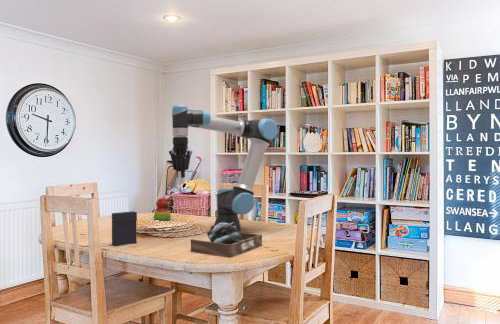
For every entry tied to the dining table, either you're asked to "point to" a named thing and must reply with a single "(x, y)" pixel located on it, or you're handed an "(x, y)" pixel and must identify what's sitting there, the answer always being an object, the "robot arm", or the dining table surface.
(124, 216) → the upright charcoal panel
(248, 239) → the labelled bay
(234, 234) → the dark grey rounded lump
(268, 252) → the dining table surface
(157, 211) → the stacking bear
